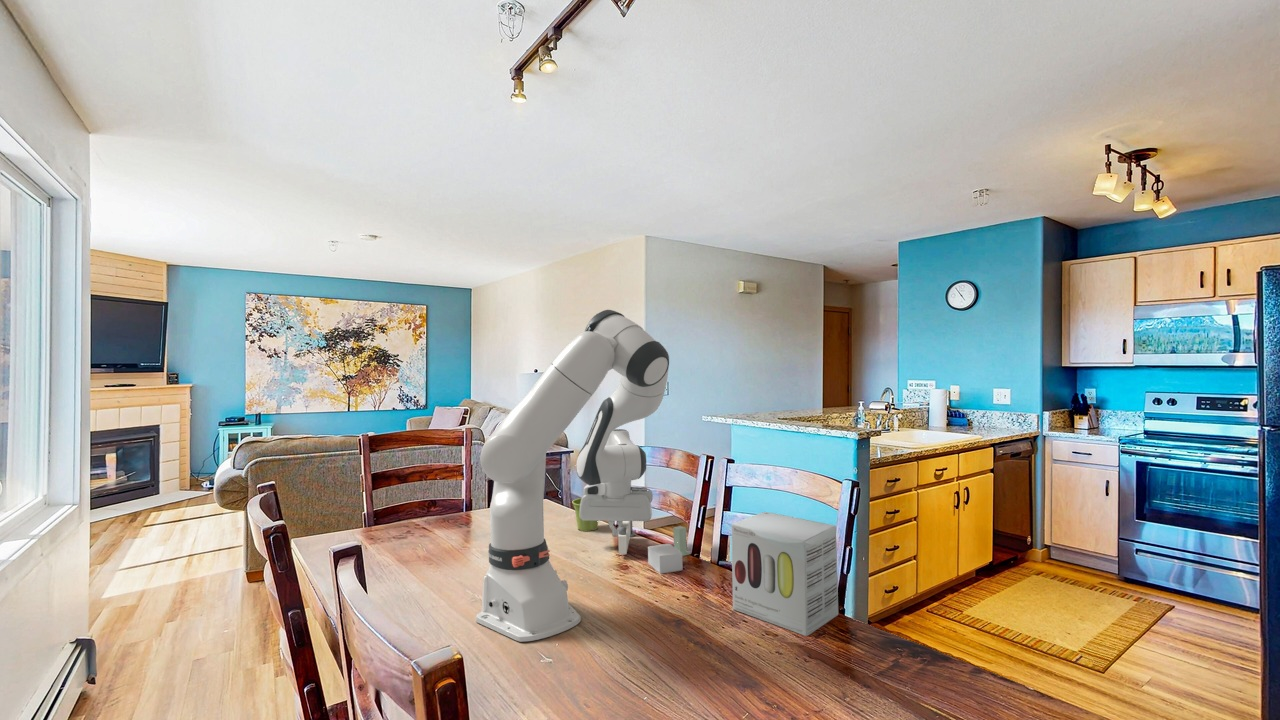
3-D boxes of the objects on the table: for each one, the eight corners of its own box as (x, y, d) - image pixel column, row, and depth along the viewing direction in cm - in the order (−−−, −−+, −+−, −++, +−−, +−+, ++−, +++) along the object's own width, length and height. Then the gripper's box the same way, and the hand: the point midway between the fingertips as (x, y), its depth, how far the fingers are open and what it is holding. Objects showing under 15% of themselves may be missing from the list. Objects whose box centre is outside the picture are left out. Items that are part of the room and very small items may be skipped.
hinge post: (638, 535, 174) (637, 511, 174) (626, 538, 171) (626, 514, 171) (629, 532, 177) (628, 509, 177) (617, 535, 174) (617, 511, 174)
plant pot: (605, 524, 186) (604, 497, 186) (600, 533, 177) (599, 504, 177) (576, 524, 187) (575, 497, 187) (569, 533, 178) (569, 504, 178)
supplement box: (730, 611, 120) (728, 523, 120) (766, 592, 129) (764, 510, 129) (807, 638, 108) (805, 540, 108) (840, 614, 117) (838, 524, 117)
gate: (623, 534, 171) (623, 512, 171) (630, 534, 171) (630, 512, 171) (618, 554, 153) (618, 530, 153) (626, 554, 153) (625, 530, 153)
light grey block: (682, 570, 144) (682, 552, 144) (660, 574, 142) (659, 556, 142) (669, 560, 151) (669, 543, 151) (648, 564, 149) (647, 546, 149)
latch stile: (692, 553, 156) (691, 527, 156) (679, 557, 153) (679, 530, 153) (678, 548, 160) (677, 523, 160) (666, 552, 158) (665, 526, 158)
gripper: (653, 484, 166) (653, 533, 166) (582, 484, 167) (582, 532, 167) (651, 489, 159) (652, 540, 159) (577, 488, 161) (578, 538, 161)
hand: (616, 536), depth 163 cm, fingers closed
